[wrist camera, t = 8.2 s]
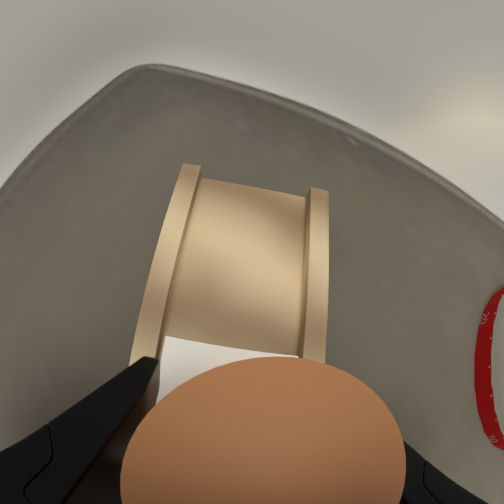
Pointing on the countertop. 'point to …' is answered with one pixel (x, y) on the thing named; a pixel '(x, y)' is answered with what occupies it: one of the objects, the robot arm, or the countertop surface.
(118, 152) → the countertop surface
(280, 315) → the wooden tray
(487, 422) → the kitchen timer
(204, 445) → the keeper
